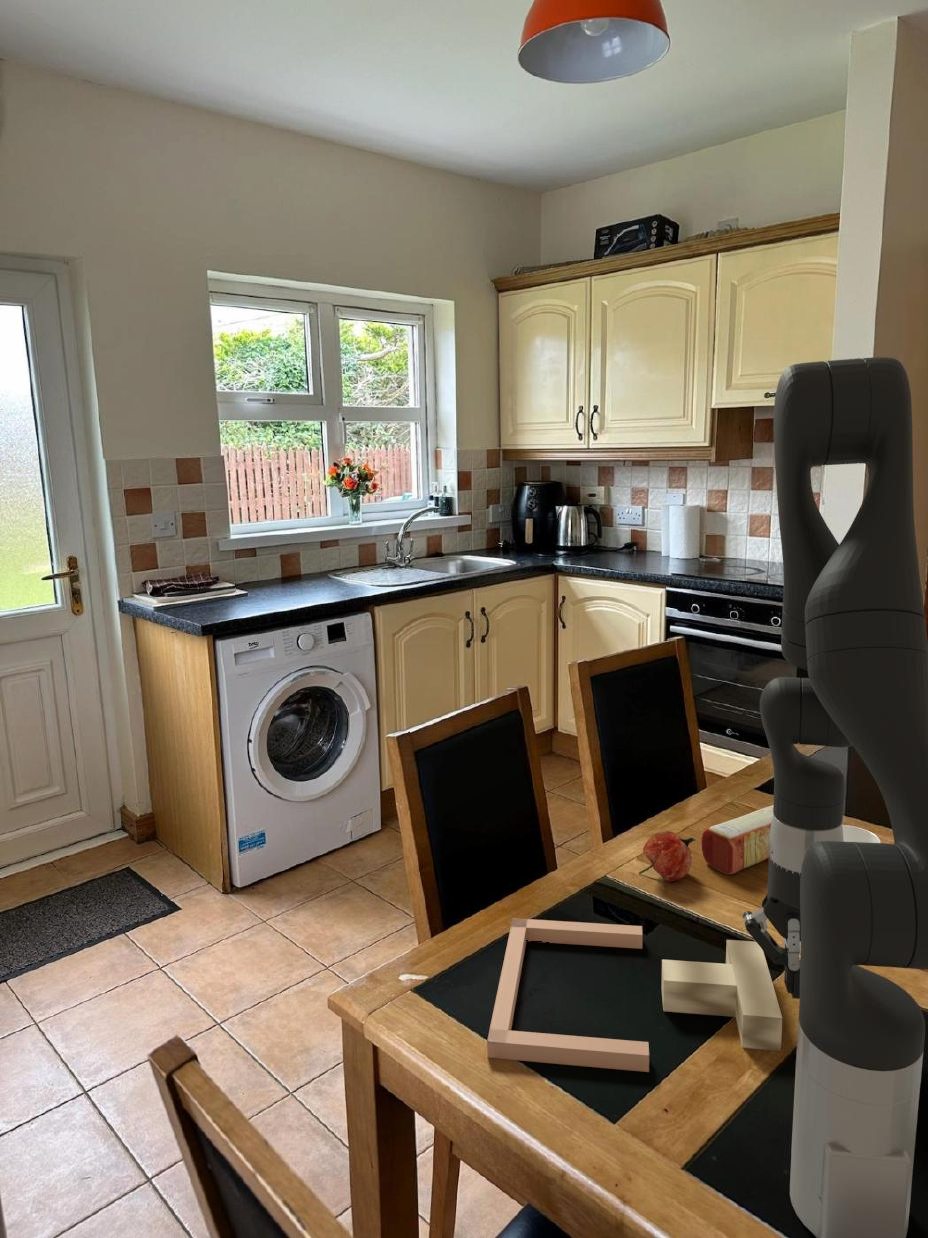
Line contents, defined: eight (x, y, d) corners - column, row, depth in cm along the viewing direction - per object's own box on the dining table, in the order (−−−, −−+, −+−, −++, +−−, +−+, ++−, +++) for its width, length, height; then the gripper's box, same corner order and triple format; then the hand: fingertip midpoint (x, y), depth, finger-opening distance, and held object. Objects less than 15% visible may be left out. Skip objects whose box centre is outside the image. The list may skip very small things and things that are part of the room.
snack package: (788, 827, 143) (790, 789, 141) (823, 842, 137) (826, 803, 136) (698, 863, 132) (699, 823, 130) (732, 881, 126) (733, 839, 125)
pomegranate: (647, 902, 125) (705, 871, 122) (618, 859, 126) (674, 827, 123) (657, 883, 132) (711, 853, 128) (629, 842, 133) (682, 811, 129)
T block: (759, 971, 105) (760, 942, 104) (780, 1050, 92) (782, 1018, 91) (659, 964, 107) (659, 935, 106) (665, 1041, 94) (666, 1009, 93)
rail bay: (649, 1072, 89) (649, 1055, 89) (487, 1057, 92) (487, 1041, 92) (641, 940, 112) (641, 926, 112) (513, 931, 115) (512, 918, 115)
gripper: (747, 868, 91) (741, 1011, 95) (879, 875, 89) (869, 1022, 93) (738, 836, 99) (733, 970, 102) (860, 842, 96) (851, 979, 100)
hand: (798, 994), depth 97 cm, fingers closed
